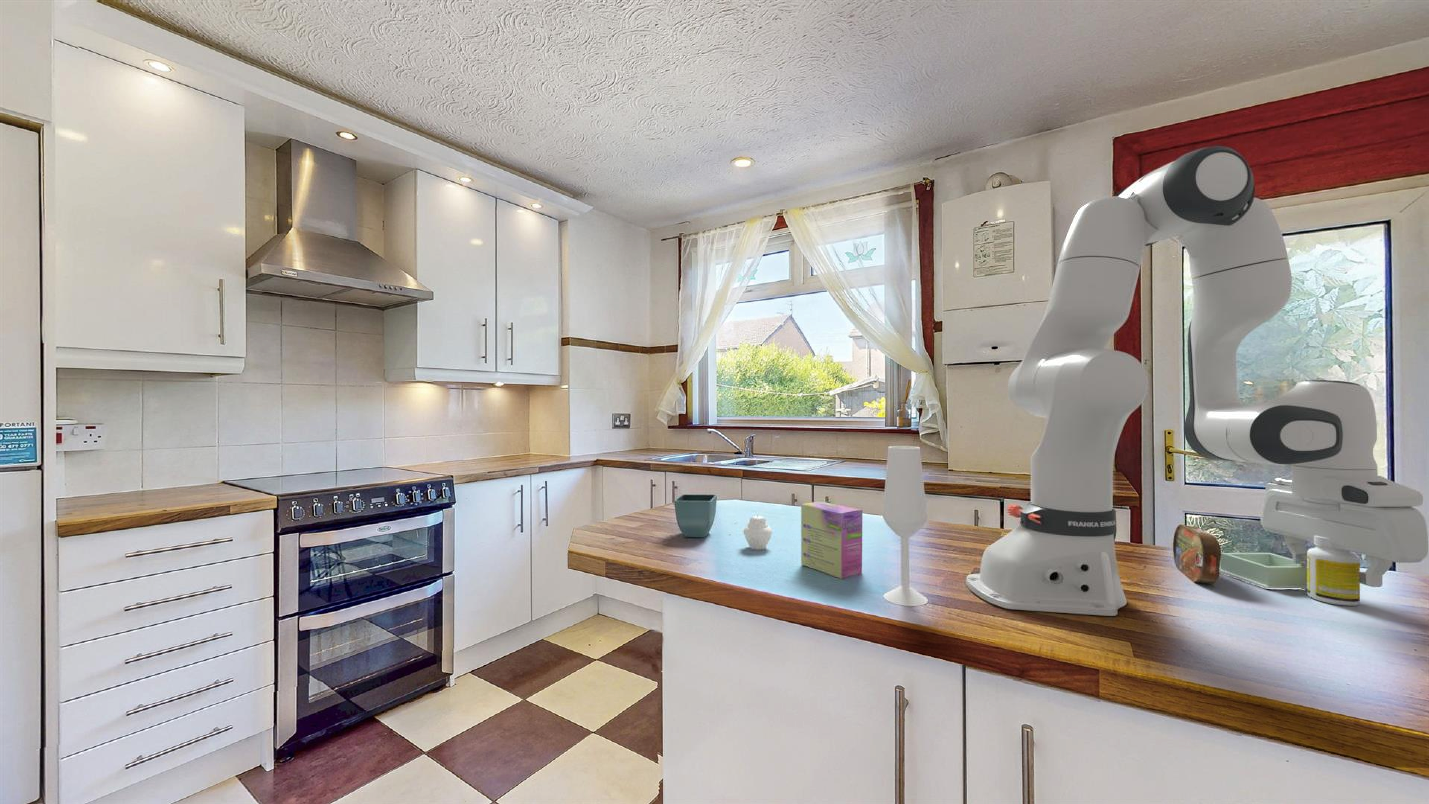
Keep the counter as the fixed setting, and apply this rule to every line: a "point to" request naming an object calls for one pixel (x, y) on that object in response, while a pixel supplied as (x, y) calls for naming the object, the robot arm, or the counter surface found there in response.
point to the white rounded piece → (757, 533)
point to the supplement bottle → (1332, 574)
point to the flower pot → (695, 514)
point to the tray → (1264, 570)
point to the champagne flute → (904, 512)
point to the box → (831, 538)
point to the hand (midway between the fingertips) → (1334, 575)
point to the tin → (1197, 554)
